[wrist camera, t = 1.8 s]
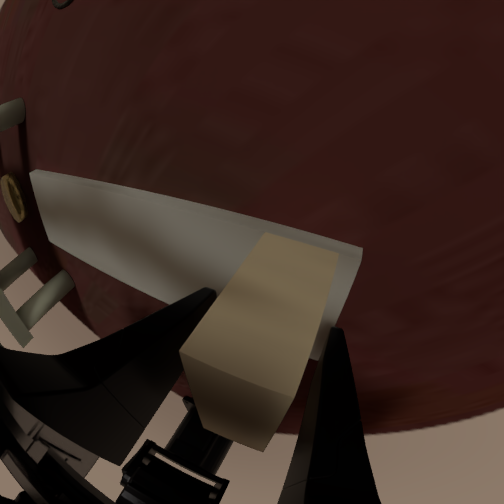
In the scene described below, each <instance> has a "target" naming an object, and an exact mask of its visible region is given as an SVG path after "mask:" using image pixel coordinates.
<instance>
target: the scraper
mask: <svg viewBox="0 0 504 504" xmlns="http://www.w3.org/2000/svg"><path fill="white" fill-rule="evenodd" d="M29 175H30V179H31V183H32V187H33V191H34V195H35V198H36V202H37V205H38V208H39V212H40V215H41V218H42V221H43V224H44V227H45V230H46V233H47V236H48V239H49V241H50V242H52V243H53V244H55V245H57V246H58V247H60V248H62V249H63V250H65V251H67V252H68V253H70V254H72V255H74V256H75V257H77V258H79V259H81V260H83V261H84V262H86V263H88V264H90V265H92V266H93V267H95V268H97V269H99V270H101V271H103V272H105V273H107V274H108V275H110V276H112V277H114V278H116V279H118V280H120V281H122V282H124V283H126V284H128V285H130V286H132V287H134V288H136V289H138V290H140V291H142V292H144V293H146V294H148V295H151V296H153V297H155V298H157V299H159V300H161V301H163V302H166V303H168V304H172V303H174V302H176V301H178V300H180V299H182V298H184V297H186V296H188V295H190V294H192V293H194V292H196V291H197V290H199V289H201V288H203V287H209V288H212V289H214V290H216V293H217V299H216V300H215V302H214V303H213V304H212V306H211V307H210V308H209V310H208V311H207V313H206V314H205V315H204V317H203V318H202V320H201V321H200V322H199V324H198V325H197V326H196V328H195V329H194V331H193V332H192V333H191V335H190V336H189V337H188V339H187V340H186V342H185V343H184V344H183V346H182V347H181V349H180V350H179V353H180V357H181V360H182V364H183V367H184V371H185V374H186V377H187V380H188V384H189V387H190V390H191V393H192V396H193V399H194V402H195V405H196V408H197V411H198V414H199V417H200V420H201V422H202V425H203V428H205V429H207V430H209V431H212V432H214V433H216V434H218V435H221V436H223V437H225V438H228V439H230V440H232V441H235V442H237V443H240V444H242V445H245V446H247V447H250V448H253V449H255V450H259V451H261V452H264V450H265V448H266V447H267V445H268V443H269V442H270V440H271V438H272V437H273V435H274V433H275V432H276V430H277V428H278V427H279V425H280V423H281V421H282V419H283V418H284V416H285V414H286V412H287V410H288V409H289V407H290V405H291V403H292V401H293V399H294V397H295V395H296V392H297V389H298V387H299V384H300V381H301V379H302V376H303V373H304V370H305V367H306V364H307V362H308V359H309V358H311V359H314V360H317V361H318V360H319V358H320V355H321V352H322V349H323V346H324V343H325V340H326V338H327V335H328V333H329V330H330V328H331V327H332V326H335V324H336V321H337V319H338V317H339V315H340V312H341V310H342V308H343V305H344V303H345V301H346V298H347V296H348V293H349V291H350V288H351V286H352V283H353V281H354V278H355V276H356V273H357V271H358V268H359V265H360V263H361V260H362V251H363V248H360V247H357V246H354V245H350V244H347V243H344V242H340V241H337V240H333V239H330V238H327V237H323V236H320V235H316V234H313V233H309V232H306V231H302V230H298V229H295V228H291V227H288V226H284V225H280V224H277V223H273V222H269V221H266V220H262V219H258V218H254V217H250V216H247V215H243V214H239V213H235V212H231V211H227V210H223V209H219V208H215V207H211V206H207V205H203V204H199V203H195V202H191V201H186V200H182V199H178V198H174V197H169V196H165V195H161V194H156V193H152V192H148V191H143V190H138V189H134V188H129V187H125V186H120V185H115V184H110V183H106V182H101V181H96V180H91V179H86V178H81V177H75V176H70V175H65V174H60V173H54V172H48V171H43V170H37V169H36V170H34V171H32V172H30V173H29Z"/></svg>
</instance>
